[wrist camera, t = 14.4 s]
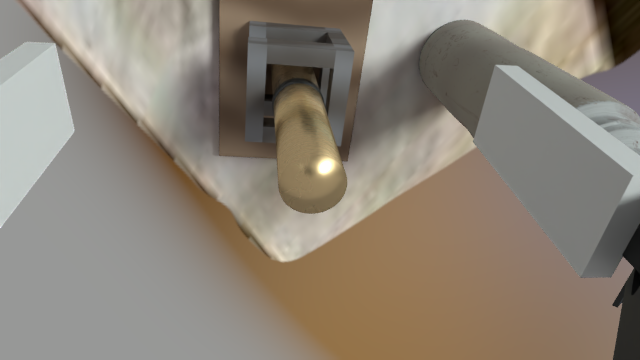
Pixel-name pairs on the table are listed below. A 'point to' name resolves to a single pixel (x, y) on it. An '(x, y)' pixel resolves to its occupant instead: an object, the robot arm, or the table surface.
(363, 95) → the table surface
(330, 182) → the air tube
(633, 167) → the robot arm
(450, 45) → the thermos bottle
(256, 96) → the collar stand
